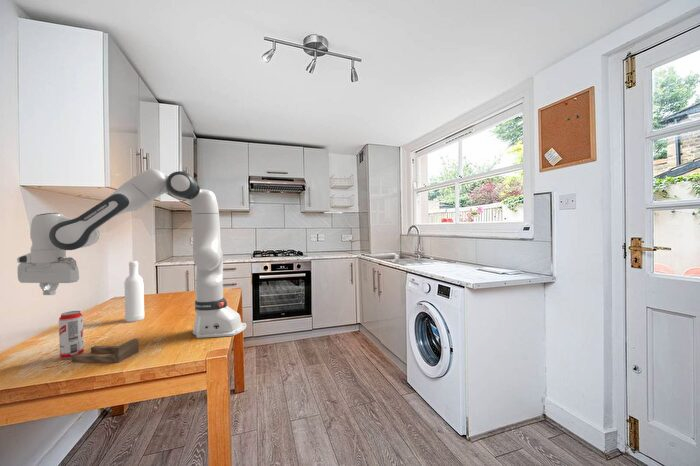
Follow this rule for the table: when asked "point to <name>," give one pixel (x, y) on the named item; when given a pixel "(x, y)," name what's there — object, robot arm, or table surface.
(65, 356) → the beer can
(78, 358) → the rest
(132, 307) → the bottle
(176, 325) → the table surface
